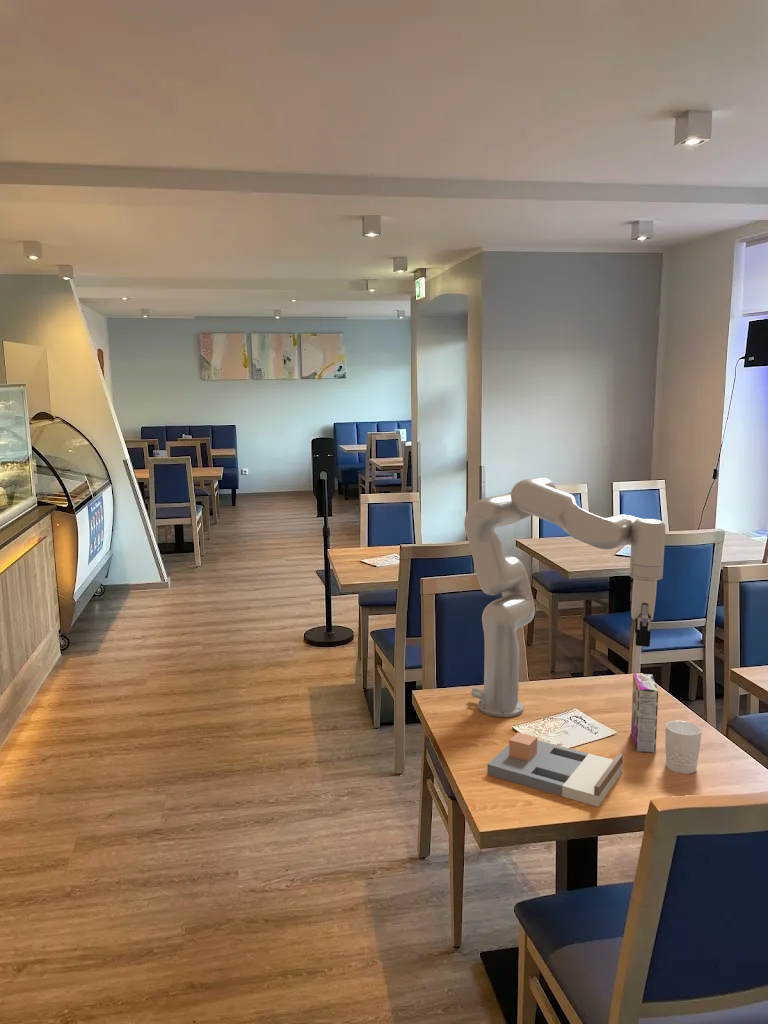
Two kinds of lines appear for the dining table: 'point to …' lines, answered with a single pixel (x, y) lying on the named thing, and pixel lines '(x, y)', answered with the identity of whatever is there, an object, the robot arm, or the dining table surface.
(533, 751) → the block
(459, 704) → the dining table surface
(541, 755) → the board
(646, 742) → the candy bar box
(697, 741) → the white cup
